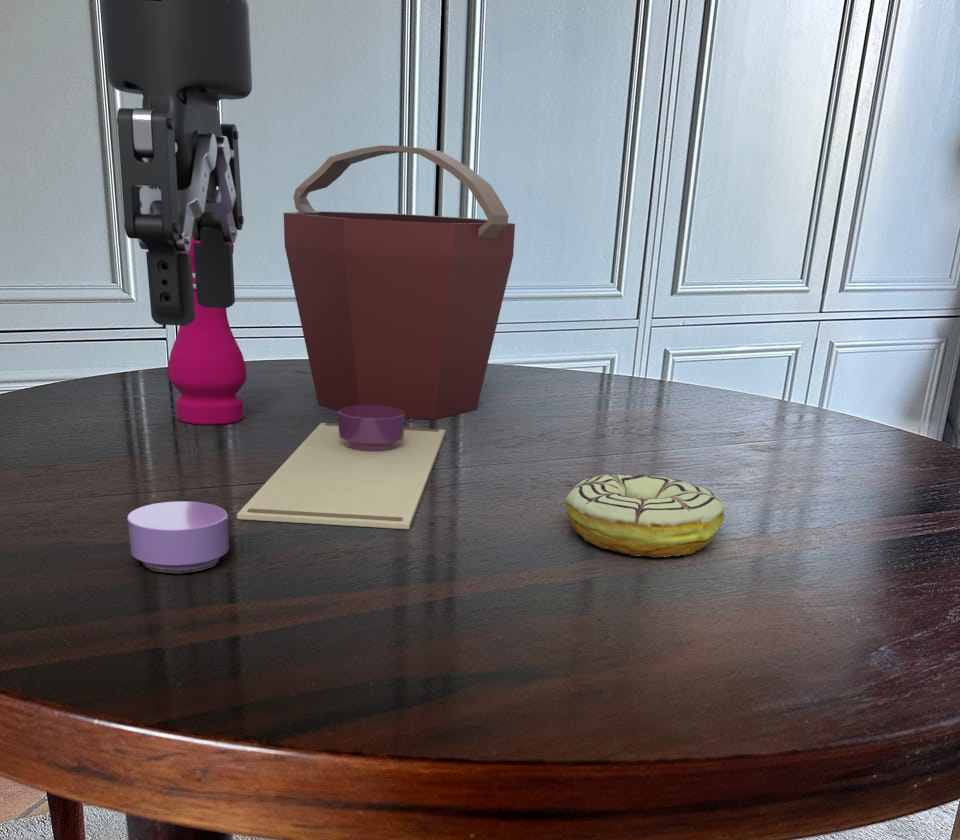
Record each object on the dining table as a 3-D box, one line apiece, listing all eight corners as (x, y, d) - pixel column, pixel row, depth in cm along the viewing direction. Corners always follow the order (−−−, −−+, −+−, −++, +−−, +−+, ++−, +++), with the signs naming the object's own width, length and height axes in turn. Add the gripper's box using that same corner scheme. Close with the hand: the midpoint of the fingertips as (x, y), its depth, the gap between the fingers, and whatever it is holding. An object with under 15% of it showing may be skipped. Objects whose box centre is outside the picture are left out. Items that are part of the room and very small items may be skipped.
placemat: (237, 519, 71) (236, 512, 71) (320, 426, 98) (320, 421, 98) (409, 529, 71) (409, 522, 70) (445, 433, 98) (445, 428, 98)
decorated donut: (649, 509, 78) (654, 460, 76) (750, 551, 69) (759, 497, 68) (535, 525, 73) (539, 473, 71) (630, 573, 64) (637, 515, 63)
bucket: (252, 392, 112) (240, 138, 102) (409, 376, 126) (413, 151, 116) (388, 436, 96) (391, 140, 86) (552, 412, 110) (572, 154, 100)
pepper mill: (260, 422, 99) (250, 197, 91) (187, 429, 95) (170, 194, 87) (231, 408, 104) (220, 194, 96) (161, 413, 100) (143, 191, 92)
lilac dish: (117, 575, 60) (111, 526, 59) (151, 544, 65) (146, 498, 64) (214, 581, 60) (211, 532, 59) (240, 549, 65) (238, 504, 64)
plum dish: (333, 451, 88) (332, 416, 87) (344, 436, 93) (344, 403, 92) (400, 455, 88) (400, 420, 87) (407, 439, 93) (408, 406, 92)
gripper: (149, 10, 60) (171, 300, 67) (45, -39, 47) (85, 327, 54) (276, 16, 60) (285, 305, 67) (207, -31, 47) (228, 334, 54)
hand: (196, 315), depth 60 cm, fingers open, 8 cm apart
